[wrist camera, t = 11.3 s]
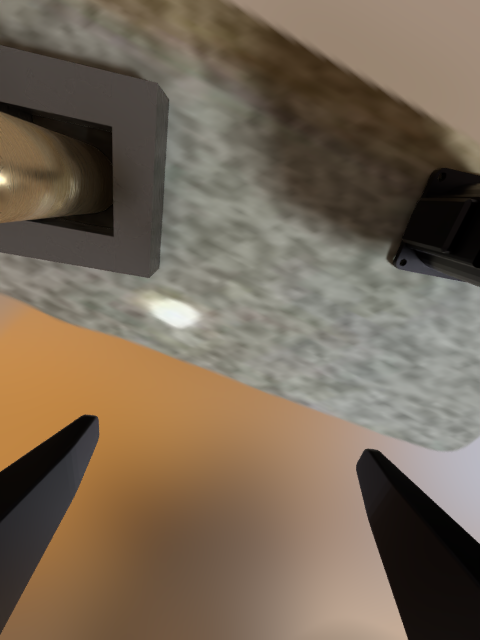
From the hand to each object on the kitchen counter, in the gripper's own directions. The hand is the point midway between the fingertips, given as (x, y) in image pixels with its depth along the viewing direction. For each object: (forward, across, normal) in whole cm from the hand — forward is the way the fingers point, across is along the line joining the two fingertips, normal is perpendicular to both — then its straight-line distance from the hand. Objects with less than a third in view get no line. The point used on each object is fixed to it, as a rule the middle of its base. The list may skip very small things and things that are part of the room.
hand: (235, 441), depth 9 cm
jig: (+13, +11, -6) cm, 18 cm away
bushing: (+13, +11, -6) cm, 18 cm away
